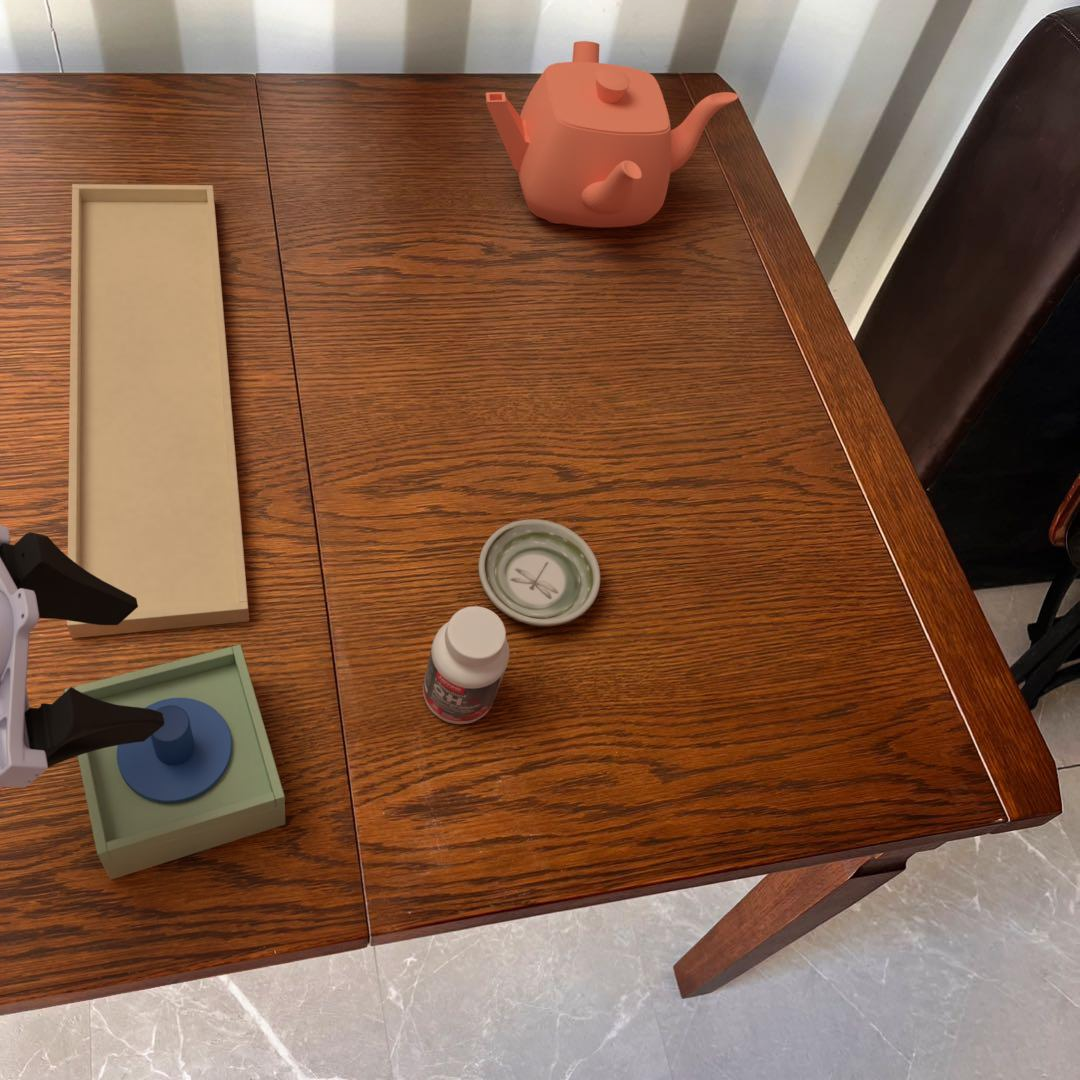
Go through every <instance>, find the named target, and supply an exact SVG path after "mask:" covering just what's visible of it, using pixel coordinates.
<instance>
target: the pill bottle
mask: <svg viewBox="0 0 1080 1080" xmlns="http://www.w3.org/2000/svg"><path fill="white" fill-rule="evenodd" d="M506 631H507V630H506V627H505V624H504V622H503V620H502V619H501V618H500V617H499V616H498V614H497V613H495V612H494V611H493V610H491V609H489V608H486V607H484V606H477V605H471V606H467V607H463V608H461V609H459V610H458V611H457V612H455V613H454V614H453V615H452V616H451V617H450V620H448V621H447V622H446V623H444V624H443V625H442V626H441V627H440V628H439V629H438V631H437V632H436V634H435V636H434V638H433V641H432V644H431V646H430V647H431V648H430V653H429V658H428V661H427V665H426V669H425V673H424V678H423V683H422V694H423V699H424V702H425V704H426V706H427V707H428V709H429V710H430V711H431V712H432V713H433V715H434V716H436V717H437V718H439V719H440V720H442V721H444V722H447V723H449V724H454V725H464V724H465V725H466V724H467V725H469V724H471V723H473V722H476V721H478V720H480V719H481V718H483V717H485V716H486V715H487V714H488V712H489V711H490V709H491V708H492V706H493V704H494V701H495V699H496V697H497V695H498V691H499V688H500V686H501V683H502V680H503V678H504V675H505V673H506V670H507V668H508V666H509V661H510V646H509V645H510V644H509V642H508V639H507V632H506Z"/></svg>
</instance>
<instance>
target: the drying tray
mask: <svg viewBox="0 0 1080 1080" xmlns="http://www.w3.org/2000/svg"><path fill="white" fill-rule="evenodd" d="M214 193H215V191H214V185H213V184H119V183H118V184H117V183H116V184H114V183H113V184H112V183H111V184H110V183H107V184H106V183H105V184H103V183H101V184H100V183H98V184H95V183H83V184H82V183H72V184H71V243H70V244H71V245H70V246H71V247H70V248H71V249H70V251H71V252H70V253H71V254H70V322H69V323H70V327H69V328H70V329H69V337H70V340H69V406H68V407H69V409H68V410H69V411H68V412H69V413H68V414H69V415H68V420H69V421H68V426H69V427H68V493H67V495H68V496H67V497H68V501H67V502H68V503H67V557H69V558H70V559H71V560H72V561H74V562H75V563H76V564H77V565H79V566H80V567H82V568H83V569H85V570H86V571H88V572H89V573H91V574H92V575H94V576H96V577H97V578H99V579H101V580H103V581H104V582H106V583H108V584H110V585H112V586H114V587H116V588H118V589H120V590H122V591H124V592H125V593H127V594H129V595H131V596H133V597H135V598H136V599H137V604H138V607H137V608H136V609H135V610H134V611H133V612H132V613H131V614H130V615H128V616H127V617H126V618H125V619H124V620H123V621H122V622H121V623H119V624H118V625H96V624H89V623H82V622H76V621H69V620H66V626H67V629H68V632H69V635H70V638H71V639H79V638H89V637H91V638H92V637H100V636H111V635H121V634H132V633H143V632H152V631H153V632H155V631H163V630H174V629H175V630H176V629H184V628H194V627H205V626H216V625H227V624H238V623H244V622H245V623H247V622H250V613H249V612H250V611H249V601H248V599H249V598H248V589H247V588H248V587H247V578H246V565H245V551H244V540H243V529H242V528H243V527H242V516H241V504H240V492H239V480H238V470H237V468H238V467H237V457H236V444H235V433H234V422H233V409H232V396H231V385H230V373H229V362H228V349H227V338H226V336H227V335H226V325H225V314H224V301H223V289H222V277H221V265H220V251H219V239H218V229H217V228H218V227H217V217H216V206H215V194H214Z"/></svg>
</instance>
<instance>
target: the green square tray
mask: <svg viewBox="0 0 1080 1080" xmlns="http://www.w3.org/2000/svg"><path fill="white" fill-rule="evenodd" d="M71 687H72V688H74V689H75V690H77V691H79V692H81V693H83V694H85V695H88V696H90V697H92V698H95V699H98V700H101V701H104V702H108V703H112V704H116V705H122V706H131V707H139V708H146V707H147V706H149V705H151V704H153V703H155V702H158V701H161V700H165V699H170V698H189V699H194V700H198V701H201V702H203V703H206V704H207V705H209V706H211V707H212V708H214V709H215V710H216V711H217V712H218V713H219V714H220V715H221V716H222V717H223V719H224V720H225V722H226V724H227V725H228V728H229V731H230V734H231V740H232V754H231V759H230V763H229V765H228V768H227V770H226V771H225V773H224V775H223V776H222V778H221V779H220V780H219V781H218V783H217V784H216V785H215V786H214V787H212V788H211V789H210V790H209V791H207V792H206V793H204V794H203V795H201V796H199V797H197V798H195V799H192V800H190V801H186V802H182V803H175V804H163V803H157V802H153V801H150V800H147V799H145V798H143V797H141V796H139V795H138V794H136V793H135V792H134V791H133V790H131V788H130V787H129V786H128V785H127V784H126V782H125V781H124V779H123V777H122V775H121V773H120V770H119V767H118V762H117V747H118V745H116V746H111V747H107V748H102V749H98V750H95V751H91V752H88V753H85V754H81V755H78V756H77V761H78V765H79V771H80V776H81V780H82V781H81V782H82V785H83V790H84V796H85V800H86V806H87V811H88V815H89V816H88V817H89V820H90V825H91V830H92V836H93V841H94V845H95V850H96V855H97V857H98V859H99V861H100V862H101V865H102V867H103V869H104V871H105V872H106V874H107V876H108V879H109V880H111V881H112V880H114V879H118V878H121V877H124V876H127V875H130V874H134V873H137V872H140V871H143V870H147V869H149V868H153V867H156V866H159V865H162V864H165V863H169V862H171V861H175V860H179V859H180V858H181V859H182V858H185V857H187V856H190V855H194V854H197V853H200V852H203V851H207V850H210V849H212V848H217V847H219V846H222V845H225V844H228V843H232V842H235V841H237V840H241V839H244V838H247V837H251V836H254V835H257V834H260V833H263V832H266V831H269V830H272V829H275V828H276V829H277V828H279V827H282V826H285V825H286V804H285V803H286V797H285V792H284V789H283V786H282V782H281V778H280V775H279V772H278V768H277V765H276V761H275V757H274V754H273V751H272V748H271V743H270V740H269V736H268V734H267V730H266V727H265V724H264V720H263V717H262V713H261V709H260V706H259V701H258V699H257V696H256V692H255V688H254V685H253V682H252V677H251V675H250V672H249V668H248V665H247V661H246V658H245V654H244V650H243V648H242V645H241V644H236V645H233V646H229V647H224V648H221V649H216V650H212V651H209V652H205V653H200V654H197V655H193V656H189V657H185V658H181V659H177V660H174V661H169V662H166V663H162V664H158V665H154V666H150V667H146V668H142V669H138V670H133V671H130V672H126V673H121V674H119V675H113V676H110V677H108V678H103V679H99V680H95V681H92V682H87V683H82V684H80V685H75V686H71ZM69 688H70V687H67V688H65V689H64V693H65V692H66V691H67V690H68V689H69Z"/></svg>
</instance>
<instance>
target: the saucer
mask: <svg viewBox="0 0 1080 1080" xmlns="http://www.w3.org/2000/svg"><path fill="white" fill-rule="evenodd" d="M477 567H478V568H477V569H478V577H479V582H480V584H481V587H482V589H483V591H484V593H485V595H486V596H487V598H488V600H490V601H491V603H492V604H493V605H494V607H495V608H496V609H498V610H499V611H501V612H502V613H503V614H504V615H506V616H507V617H510V618H511V619H513V620H515V621H517V622H520V623H522V624H527V625H530V626H536V627H555V626H561V625H565V624H567V623H570V622H572V621H575V620H576V619H578V618H579V617H581V616H582V615H584V614H585V613H586V612H587V611H588V610H589V609H590V608H591V607H592V605H593V604H594V602H595V601H596V599H597V597H598V594H599V591H600V588H601V587H600V586H601V569H600V566H599V562H598V559H597V556H596V555H595V553H594V551H593V550H592V548H591V546H589V544H588V543H587V542H586V541H585V540H584V539H583V538H582V536H580V535H578V534H577V533H576V532H575V531H573V530H571V529H570V528H568V527H566V526H564V525H562V524H559V523H557V522H554V521H551V520H545V519H540V518H539V519H538V518H537V519H536V518H533V519H532V518H529V519H528V518H527V519H520V520H516V521H513V522H509V523H508V524H505V525H503V526H501V527H500V528H499V529H497V530H496V531H494V532H493V533H492V534H491V535H490V536H489V538H488V539H486V541H485V542H484V544H483V547H482V549H481V550H480V554H479V558H478V566H477Z"/></svg>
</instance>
